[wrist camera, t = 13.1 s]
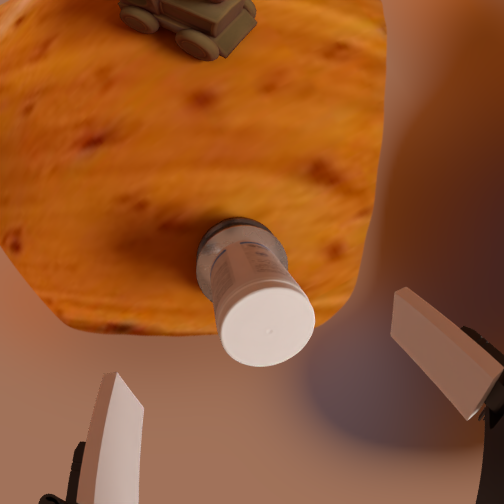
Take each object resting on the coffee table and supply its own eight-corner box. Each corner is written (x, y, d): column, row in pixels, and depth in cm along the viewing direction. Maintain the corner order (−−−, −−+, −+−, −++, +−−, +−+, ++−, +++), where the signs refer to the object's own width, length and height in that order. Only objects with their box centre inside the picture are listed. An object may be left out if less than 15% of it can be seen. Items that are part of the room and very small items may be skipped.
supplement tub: (230, 310, 40) (246, 382, 26) (196, 259, 36) (195, 321, 23) (288, 279, 40) (328, 339, 26) (260, 224, 36) (295, 267, 23)
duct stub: (182, 274, 42) (180, 289, 37) (222, 202, 39) (225, 208, 35) (252, 306, 46) (257, 322, 42) (293, 242, 43) (304, 252, 39)
